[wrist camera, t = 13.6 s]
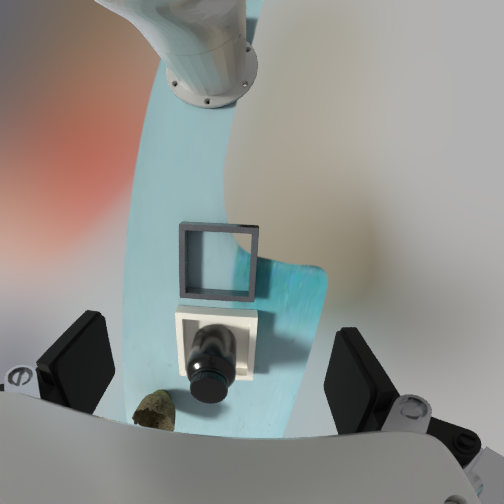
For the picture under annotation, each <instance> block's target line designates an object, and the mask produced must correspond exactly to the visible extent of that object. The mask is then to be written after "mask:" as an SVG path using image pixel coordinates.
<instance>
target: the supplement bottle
mask: <svg viewBox="0 0 504 504" xmlns="http://www.w3.org/2000/svg"><path fill="white" fill-rule="evenodd" d="M236 350H237V344H236V338H235V336H234V334H233V333H232V332H231V331H230V330H229V329H228V328H226V327H224V326H221V325H217V324H211V325H206V326H204V327H202V328H200V329H199V330H198V331H197V332H196V334H195V336H194V339H193V343H192V347H191V351H190V355H189V359H188V363H187V367H186V373H187V377H188V379H189V381H190V382H191V384H190V391H191V394H192V395H193V396H194V398H196V399H197V400H199V401H201V402H204V403H209V404H211V403H213V404H214V403H218V402H220V401H222V400H223V399H225V397H226V396H227V393H228V387H230V386H231V385H232V384H233V382H234V380H235V378H236Z"/></svg>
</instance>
